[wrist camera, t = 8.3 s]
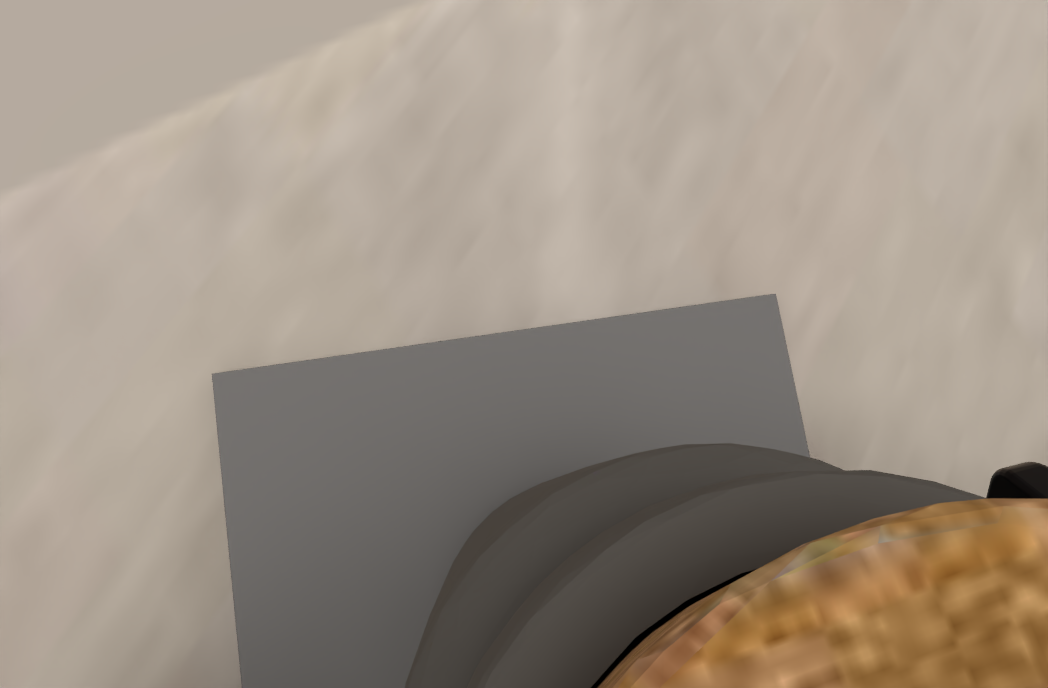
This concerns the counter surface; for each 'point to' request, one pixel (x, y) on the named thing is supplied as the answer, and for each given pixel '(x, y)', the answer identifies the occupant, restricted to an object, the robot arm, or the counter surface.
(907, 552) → the bottle
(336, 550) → the slate mat
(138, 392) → the counter surface
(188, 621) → the counter surface
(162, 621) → the counter surface
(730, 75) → the counter surface
